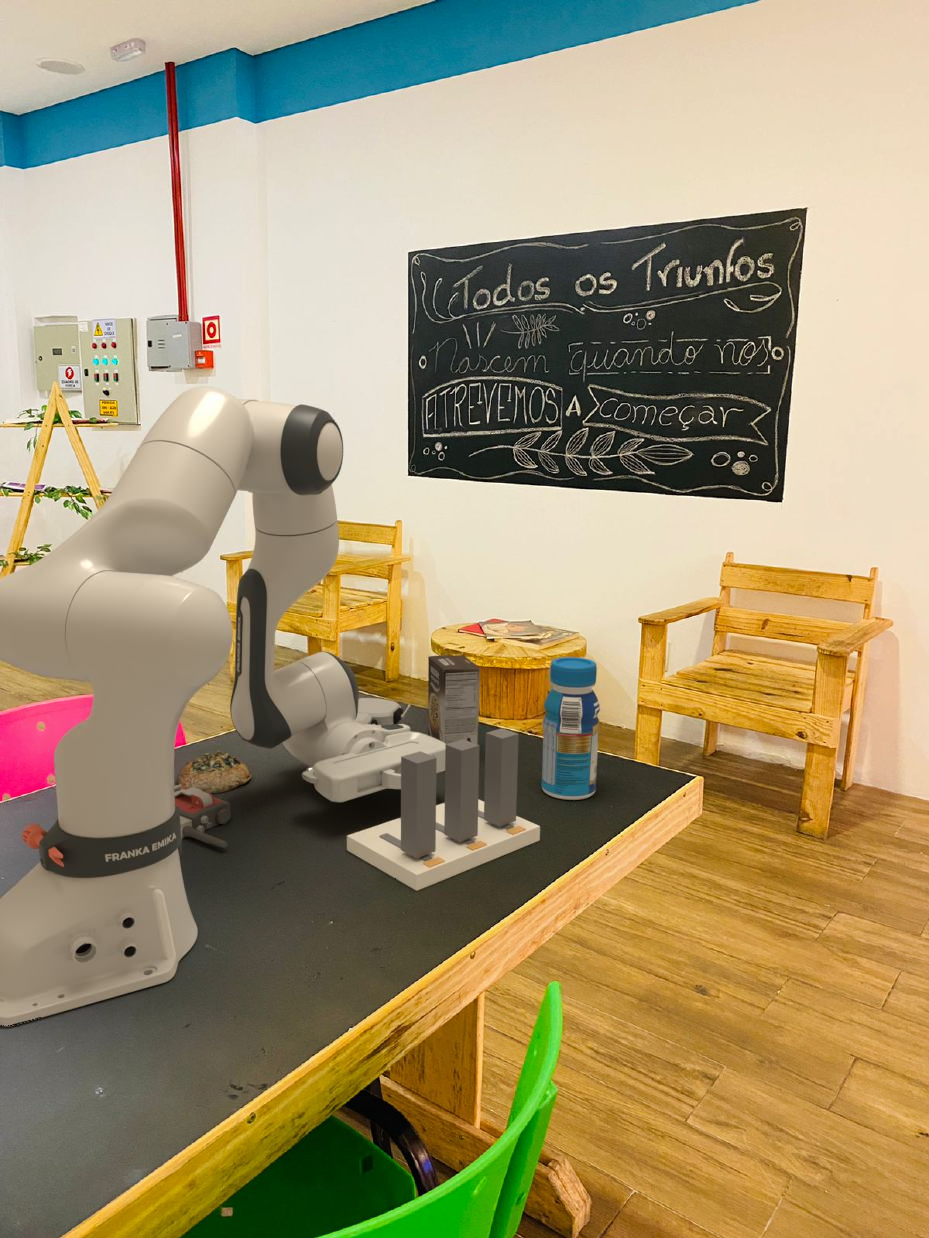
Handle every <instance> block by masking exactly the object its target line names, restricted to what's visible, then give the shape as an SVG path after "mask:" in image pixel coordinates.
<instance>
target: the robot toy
mask: <svg viewBox="0 0 929 1238" xmlns="http://www.w3.org/2000/svg"><path fill="white" fill-rule="evenodd" d="M410 708H411V704H408V705H407V707H406V709H402V706H401V705H400V704H399V703H398V702H396V701H393V700H388V699H385V698H384V699H383V698H375V697H374V698H372V697H361V698H360V697H359V703H358V714H357V717H356V719H355V722H357V723H360V724H362V725H365V724H371V725H393V724H399V722H400V721H401V720H404V718H405V716H406V713H407V712H408V710H409V709H410Z"/></svg>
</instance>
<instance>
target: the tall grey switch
mask: <svg viewBox="0 0 929 1238" xmlns="http://www.w3.org/2000/svg"><path fill="white" fill-rule="evenodd" d="M436 761H437V758H436V757H433V756H431V755H428V754H426V753H424V752H421V751H420V752H416V753H412V754H409V755H405V756H402V757H401V789H400V818H401V850H402V851H403V852H405V853H407V854H409V855H411V856H413V857H414V858H416V859H417V858H419V857H422V856H425V855H427V854H430V853H432V852H435V849H436V805H437V773H436Z"/></svg>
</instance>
